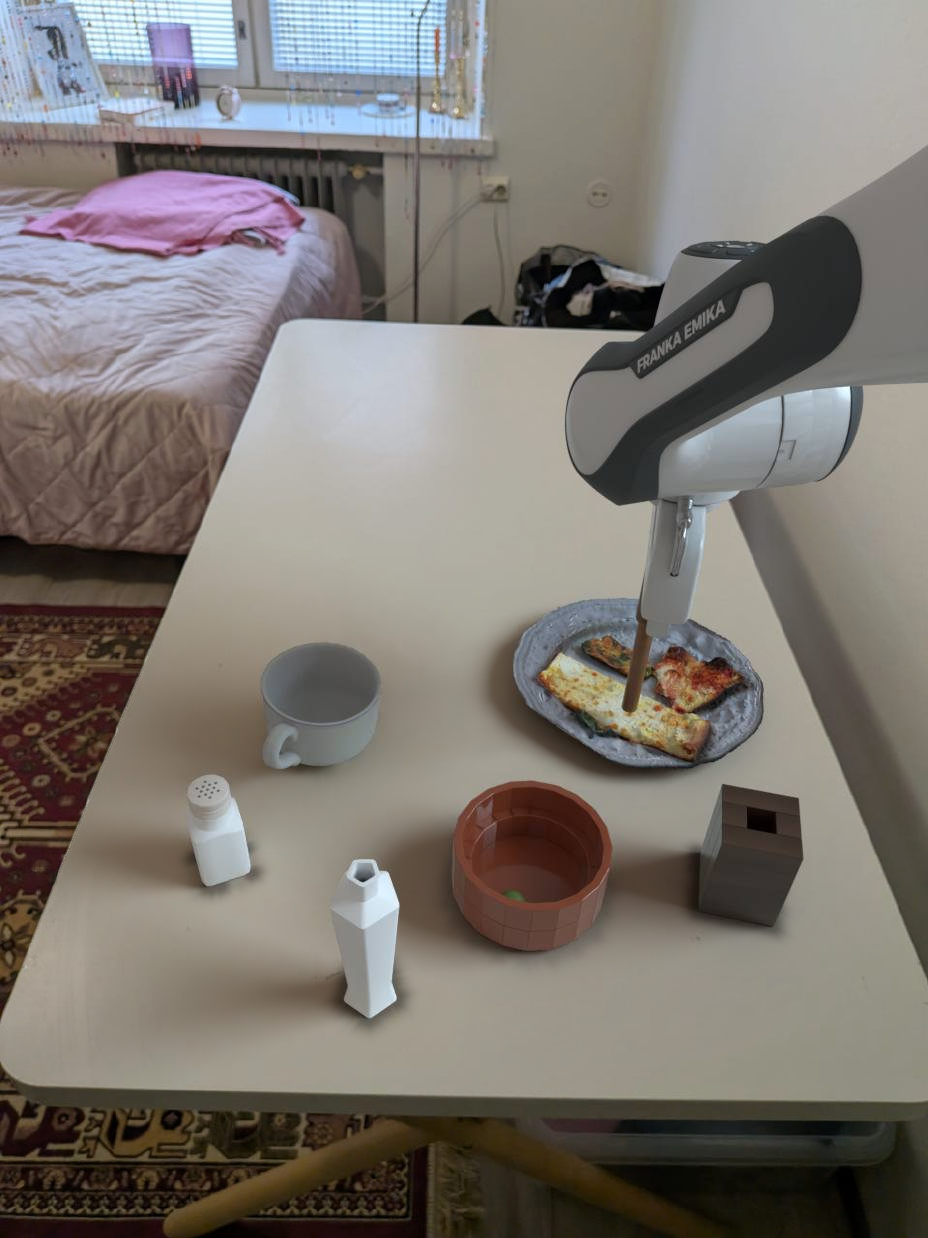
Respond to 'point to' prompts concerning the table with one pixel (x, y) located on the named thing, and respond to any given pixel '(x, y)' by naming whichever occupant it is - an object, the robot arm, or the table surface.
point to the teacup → (318, 705)
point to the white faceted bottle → (366, 935)
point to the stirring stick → (637, 662)
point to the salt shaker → (216, 830)
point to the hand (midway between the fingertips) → (659, 597)
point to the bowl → (530, 864)
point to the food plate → (671, 691)
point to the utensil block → (750, 854)
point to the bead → (513, 895)
